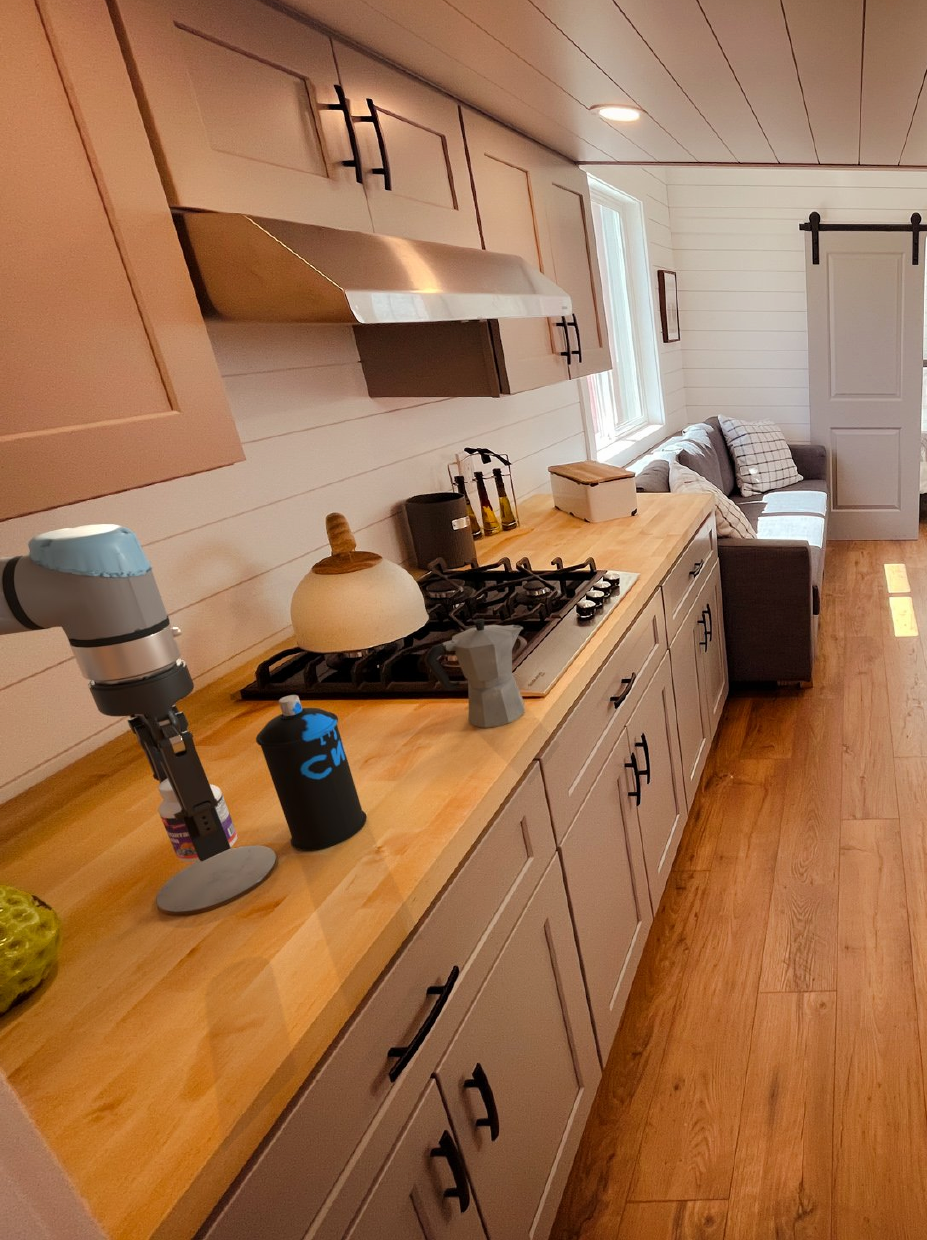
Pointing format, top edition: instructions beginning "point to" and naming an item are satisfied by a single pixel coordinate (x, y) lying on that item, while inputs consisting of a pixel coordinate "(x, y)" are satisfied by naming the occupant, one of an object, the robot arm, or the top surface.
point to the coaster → (216, 880)
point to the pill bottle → (178, 828)
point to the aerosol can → (311, 775)
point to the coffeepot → (484, 672)
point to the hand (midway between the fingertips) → (206, 843)
